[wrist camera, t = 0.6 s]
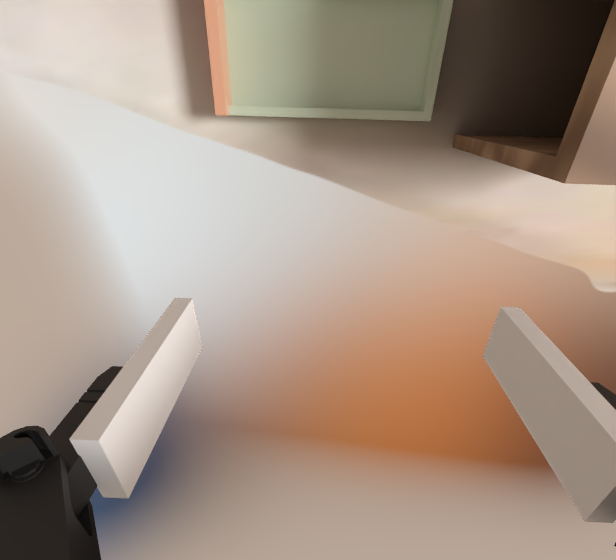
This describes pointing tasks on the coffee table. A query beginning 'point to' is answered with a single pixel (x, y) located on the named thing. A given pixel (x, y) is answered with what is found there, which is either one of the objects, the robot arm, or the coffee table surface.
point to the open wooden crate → (569, 130)
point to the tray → (327, 57)
